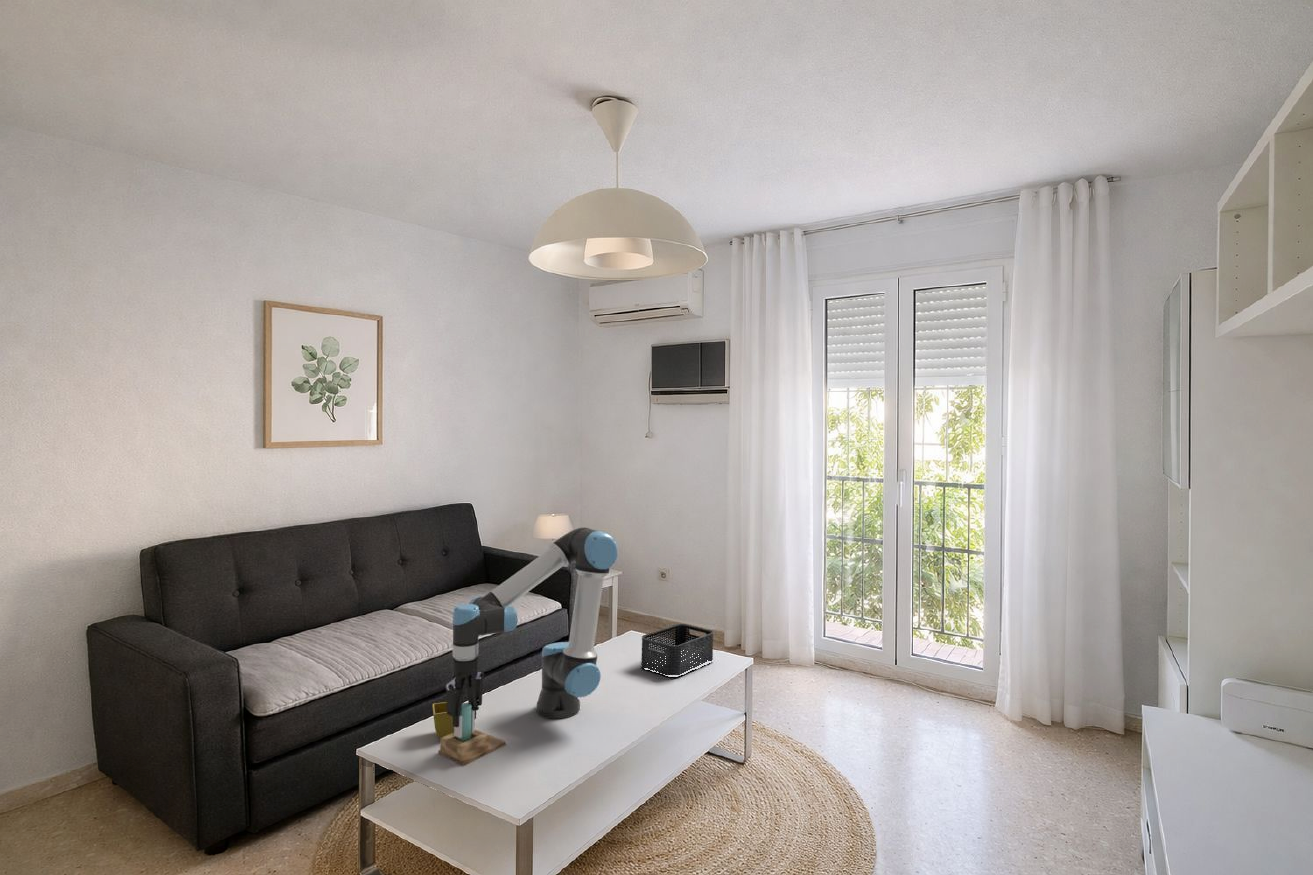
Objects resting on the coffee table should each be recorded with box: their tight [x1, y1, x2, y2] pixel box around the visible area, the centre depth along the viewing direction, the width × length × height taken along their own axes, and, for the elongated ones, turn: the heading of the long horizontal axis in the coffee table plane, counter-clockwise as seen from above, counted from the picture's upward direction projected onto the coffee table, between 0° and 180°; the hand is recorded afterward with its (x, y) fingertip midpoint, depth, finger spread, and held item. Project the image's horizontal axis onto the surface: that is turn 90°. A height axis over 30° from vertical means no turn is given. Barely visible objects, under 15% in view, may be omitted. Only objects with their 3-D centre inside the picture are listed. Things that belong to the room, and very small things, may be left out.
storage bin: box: [640, 623, 714, 675], centre depth 286 cm, size 29×19×13 cm
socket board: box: [437, 728, 507, 766], centre depth 210 cm, size 16×12×5 cm
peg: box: [457, 702, 471, 742], centre depth 208 cm, size 4×4×12 cm
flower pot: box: [432, 701, 454, 739], centre depth 220 cm, size 9×9×9 cm
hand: (464, 733), depth 208 cm, fingers closed on peg, 4 cm apart
